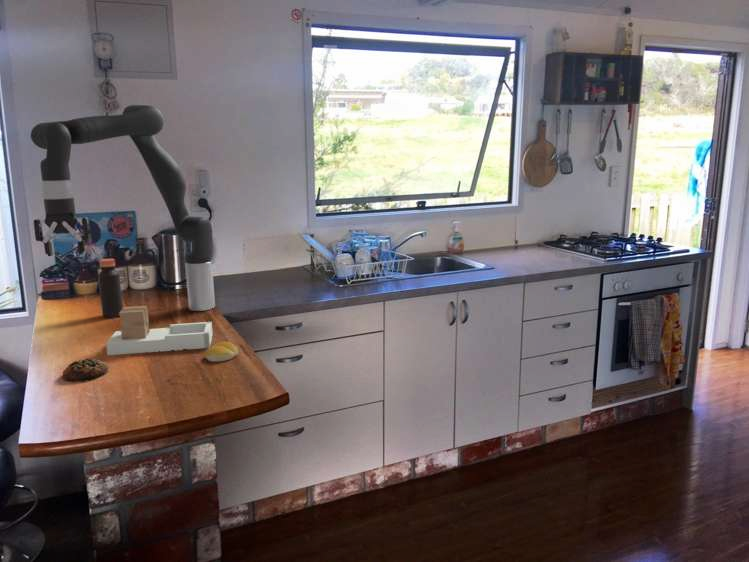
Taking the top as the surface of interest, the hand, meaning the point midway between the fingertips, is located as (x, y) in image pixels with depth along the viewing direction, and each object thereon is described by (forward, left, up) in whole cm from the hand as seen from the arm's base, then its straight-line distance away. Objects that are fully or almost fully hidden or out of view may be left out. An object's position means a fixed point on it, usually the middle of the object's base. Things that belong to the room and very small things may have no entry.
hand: (65, 254), depth 175 cm
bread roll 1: (+22, +8, -29) cm, 37 cm away
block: (+1, +17, -25) cm, 30 cm away
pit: (+1, +32, -28) cm, 43 cm away
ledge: (+1, +18, -28) cm, 33 cm away
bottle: (-37, +2, -28) cm, 47 cm away
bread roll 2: (+16, +42, -29) cm, 53 cm away
